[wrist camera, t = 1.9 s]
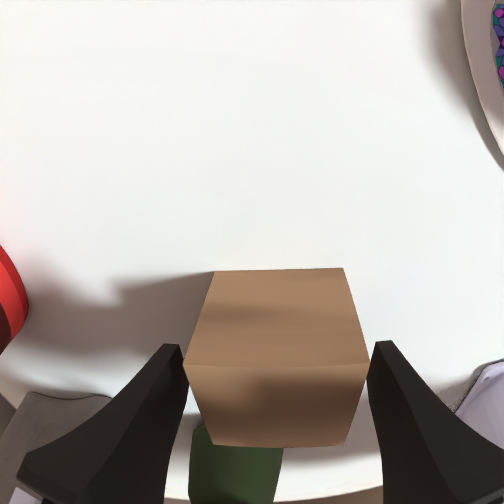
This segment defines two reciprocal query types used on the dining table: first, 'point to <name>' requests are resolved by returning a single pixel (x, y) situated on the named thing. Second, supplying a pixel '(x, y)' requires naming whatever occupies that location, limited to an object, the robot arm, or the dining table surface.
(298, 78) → the dining table surface
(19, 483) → the flask
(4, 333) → the canned food
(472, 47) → the pudding
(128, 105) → the dining table surface
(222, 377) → the walnut block
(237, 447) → the character mug
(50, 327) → the dining table surface
